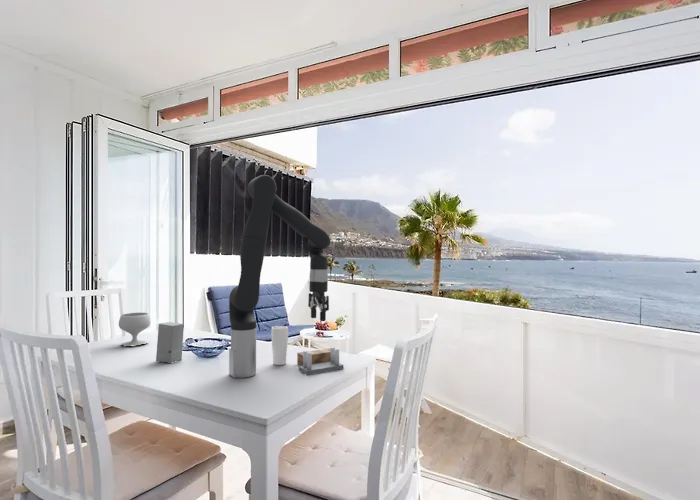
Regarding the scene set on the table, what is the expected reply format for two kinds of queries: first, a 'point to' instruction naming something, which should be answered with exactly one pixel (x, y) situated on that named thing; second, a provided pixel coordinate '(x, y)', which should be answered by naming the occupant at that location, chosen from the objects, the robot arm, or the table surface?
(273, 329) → the drinking glass
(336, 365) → the peg stand
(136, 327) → the chalice
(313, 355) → the brown rectangular block
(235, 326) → the robot arm
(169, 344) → the skincare box
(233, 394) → the table surface
